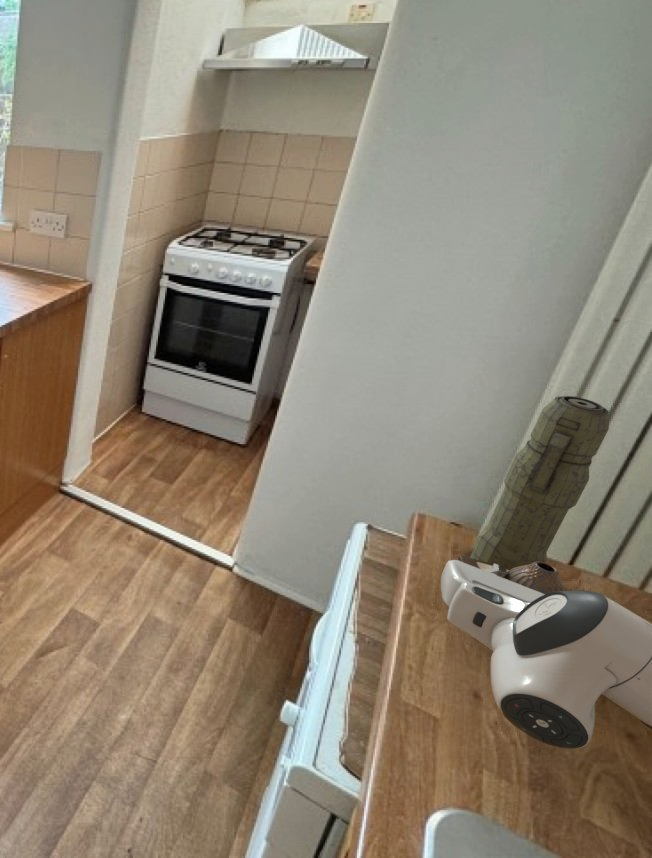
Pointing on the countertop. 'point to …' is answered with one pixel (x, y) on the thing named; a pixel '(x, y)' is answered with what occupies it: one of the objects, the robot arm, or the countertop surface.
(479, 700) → the countertop surface
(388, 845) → the countertop surface
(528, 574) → the vase
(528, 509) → the carved stone statue
